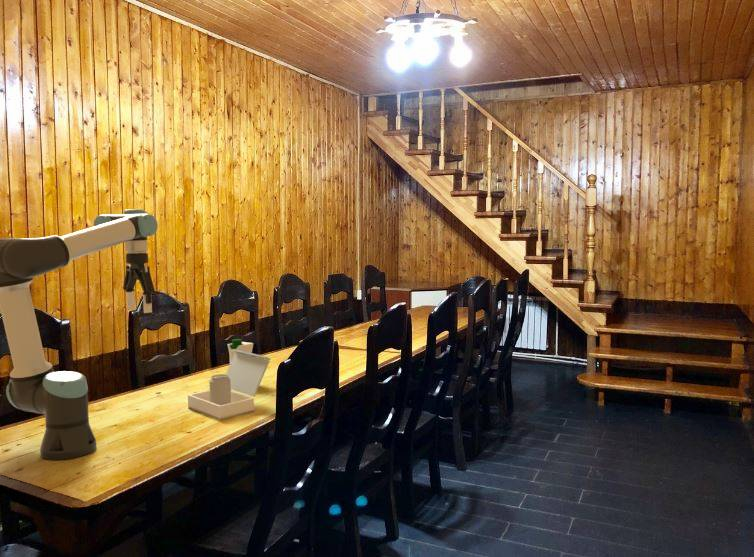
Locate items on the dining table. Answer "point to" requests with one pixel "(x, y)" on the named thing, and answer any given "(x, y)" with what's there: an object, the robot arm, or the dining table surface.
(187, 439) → the dining table surface
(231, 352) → the milk carton
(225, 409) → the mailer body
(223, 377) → the can
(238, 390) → the lid
